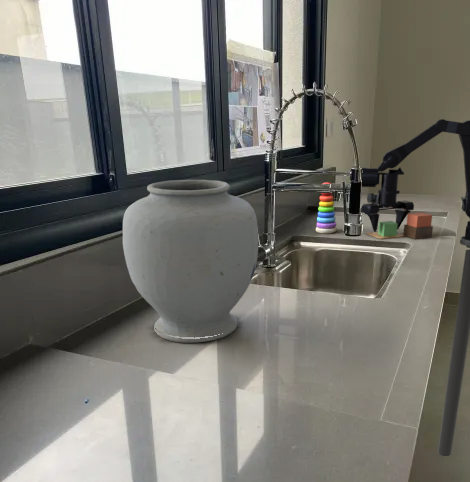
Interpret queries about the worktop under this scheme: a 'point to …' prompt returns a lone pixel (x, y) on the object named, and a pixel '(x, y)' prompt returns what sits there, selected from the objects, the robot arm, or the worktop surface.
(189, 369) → the worktop surface
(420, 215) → the terracotta block
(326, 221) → the stacking toy
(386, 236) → the cork coaster
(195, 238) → the grey vase
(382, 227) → the green block
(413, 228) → the walnut block
